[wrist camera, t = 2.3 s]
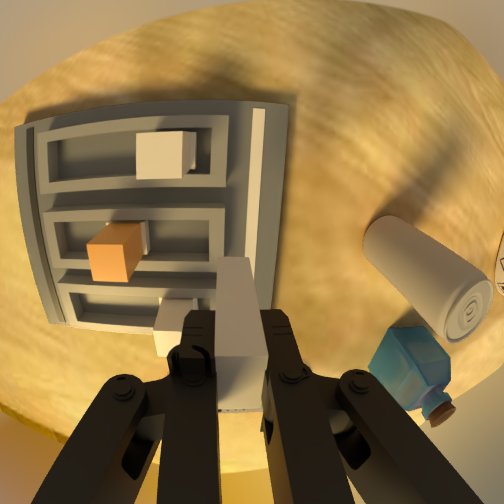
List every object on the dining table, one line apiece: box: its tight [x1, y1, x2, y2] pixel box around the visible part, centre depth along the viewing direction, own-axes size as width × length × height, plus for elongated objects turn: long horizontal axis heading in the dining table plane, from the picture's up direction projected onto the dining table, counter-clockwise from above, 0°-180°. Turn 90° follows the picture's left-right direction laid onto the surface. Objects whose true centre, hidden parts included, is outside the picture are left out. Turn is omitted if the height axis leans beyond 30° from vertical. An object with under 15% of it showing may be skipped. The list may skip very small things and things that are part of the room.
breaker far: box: [153, 297, 199, 357], centre depth 20 cm, size 3×2×5 cm
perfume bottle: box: [368, 326, 456, 427], centre depth 24 cm, size 6×6×12 cm
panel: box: [15, 100, 289, 335], centre depth 19 cm, size 22×19×3 cm
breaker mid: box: [86, 220, 150, 282], centre depth 17 cm, size 3×2×5 cm
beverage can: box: [363, 215, 494, 344], centre depth 18 cm, size 5×5×12 cm
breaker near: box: [136, 131, 197, 179], centre depth 15 cm, size 3×2×5 cm
